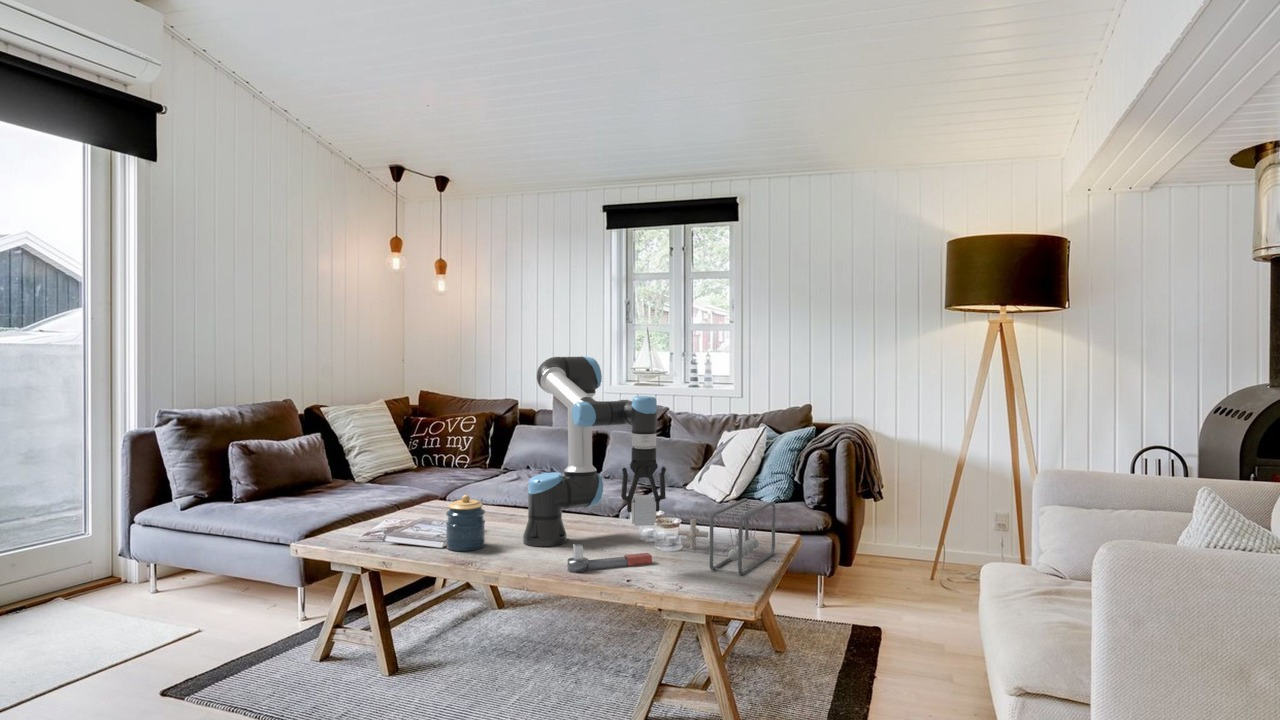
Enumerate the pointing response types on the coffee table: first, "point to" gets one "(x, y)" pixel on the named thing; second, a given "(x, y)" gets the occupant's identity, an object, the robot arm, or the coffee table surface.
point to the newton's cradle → (749, 542)
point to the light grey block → (644, 510)
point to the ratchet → (604, 560)
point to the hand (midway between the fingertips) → (643, 522)
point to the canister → (465, 525)
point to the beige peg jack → (693, 533)
